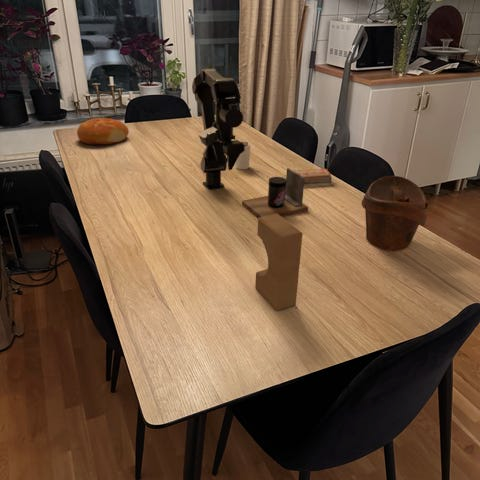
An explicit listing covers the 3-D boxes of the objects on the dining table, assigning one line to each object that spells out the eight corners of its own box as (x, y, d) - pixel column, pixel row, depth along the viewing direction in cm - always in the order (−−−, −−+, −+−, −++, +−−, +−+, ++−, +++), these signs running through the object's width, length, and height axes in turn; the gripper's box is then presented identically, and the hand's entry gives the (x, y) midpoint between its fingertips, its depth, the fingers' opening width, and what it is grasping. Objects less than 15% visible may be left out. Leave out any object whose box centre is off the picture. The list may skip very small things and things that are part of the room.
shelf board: (242, 204, 159) (242, 173, 153) (286, 195, 166) (288, 165, 160) (261, 221, 148) (263, 188, 142) (307, 211, 155) (311, 179, 150)
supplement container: (270, 209, 153) (271, 183, 148) (265, 201, 157) (266, 177, 153) (286, 207, 154) (288, 182, 149) (281, 200, 159) (283, 176, 154)
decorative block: (254, 287, 116) (257, 216, 106) (273, 282, 118) (278, 212, 108) (276, 312, 107) (281, 237, 97) (296, 306, 109) (303, 232, 100)
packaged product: (325, 165, 182) (334, 175, 173) (324, 177, 184) (332, 186, 176) (282, 167, 179) (288, 177, 170) (281, 179, 181) (287, 189, 173)
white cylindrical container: (231, 168, 190) (231, 145, 185) (237, 163, 195) (238, 140, 190) (246, 170, 188) (247, 147, 183) (252, 165, 193) (253, 142, 188)
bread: (122, 148, 211) (120, 126, 206) (72, 147, 211) (68, 125, 206) (133, 134, 231) (131, 114, 226) (87, 133, 231) (84, 113, 226)
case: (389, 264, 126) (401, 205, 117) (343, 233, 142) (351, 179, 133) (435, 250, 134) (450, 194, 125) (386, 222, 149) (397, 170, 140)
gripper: (190, 115, 152) (192, 160, 160) (213, 129, 137) (213, 178, 145) (220, 112, 156) (221, 155, 164) (246, 125, 142) (244, 173, 150)
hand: (224, 165), depth 156 cm, fingers open, 9 cm apart
